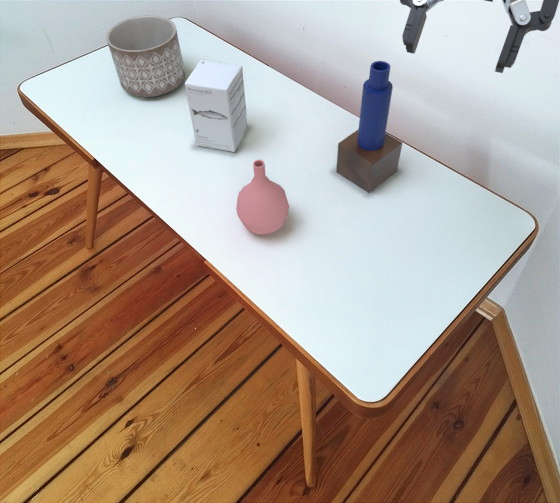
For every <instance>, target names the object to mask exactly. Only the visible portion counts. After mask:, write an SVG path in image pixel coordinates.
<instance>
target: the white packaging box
mask: <svg viewBox="0 0 560 503" xmlns="http://www.w3.org/2000/svg"><path fill="white" fill-rule="evenodd" d="M184 87H185V93H186V98H187V102H188V103H187V104H188V109H189V114H190V119H191V124H192V130H193V135H194V140H195V145H196V146H197V147H203V148H209V149H215V150H221V151H225V152H231V153H236V151H237V149H238V147H239V145H240V143H241V141H242V140H243V137H244V135H245V134H246V131H247V129H248V115H247V114H248V113H247V104H246V95H245V94H246V93H245V80H244V67H243V65H242V64H235V63H230V62H229V63H228V62H222V61H215V60H214V61H213V60H208V59H207V60H206V59H200V60H199V61H198V62H197V64H196V66H195V67H194V69H193V70H192V72H191V73H190V74H189V76H188V78H187V79H186V80H185V82H184Z"/></svg>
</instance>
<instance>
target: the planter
mask: <svg viewBox="0 0 560 503" xmlns="http://www.w3.org/2000/svg"><path fill="white" fill-rule="evenodd" d="M105 37H106V38H105V40H106V43H107V46H108V49H109V52H110V55H111V58H112V61H113V65H114V68H115V71H116V75H117V77H118V81H119V84H120V87H121V88H122V89H123V90H124V91H125V92H127V93H128V94H130V95H133V96H136V97H141V98H150V97H158V96H163V95H165V94H168V93H170V92H172V91H174V90H176V89H177V88H179V86H181V84H182V83H183V82H184V80H185V76H186V71H185V70H186V69H185V64H184V60H183V55H182V49H181V45H180V42H179V40H180V39H179V35H178V30H177V26H176V24H175V23H174V22H173V21H172V20H171V19H169V18H167V17H165V16H161V15H154V14H152V15H151V14H150V15H148V14H147V15H137V16H132V17H129V18H126V19H123V20H121V21H119V22H117V23H115V24H114V25H113V26H112V27H110V29H109V30H108V31H107V33H106V36H105Z"/></svg>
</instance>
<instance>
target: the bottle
mask: <svg viewBox="0 0 560 503" xmlns="http://www.w3.org/2000/svg"><path fill="white" fill-rule="evenodd" d="M369 67H370V68H369V76H368V79H367V80H365V81H364V83H363V84H362V93H361V102H360V113H359V122H358V129H359V130H358V129H357V130H358V141H357V142H358V145H359V146H360V147H361V148H362V149H364V150H368V151H375V150H378V149H380V148H381V147H382V146H383V144H384V139H385V133H387V126H388V120H389V115H390V114H389V113H390V109H391V108H390V106H391V102H392V101H391V100H392V95H393V89H394V86H393V83H392V82H391V81H390V74H391V67H392V66H391V64H390V63H388V62H387V61H383V60H376V61H374V62H372V63H370V66H369Z"/></svg>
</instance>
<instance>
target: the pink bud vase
mask: <svg viewBox="0 0 560 503" xmlns="http://www.w3.org/2000/svg"><path fill="white" fill-rule="evenodd" d="M252 167H253V178H252V179H251V181H250V182H249V183H248V184H245V185H244V186H243V187H242V188H241V189H240V190H239V191H238V195H237V200H236V207H235V209H236V215H237V217H238V219H239V221H240V222H241V223H242V225H243V226H244V228H245V230H247V231H249V232H251V233H253V234H257V235H269V234H273V233H275V232H277V231H278V230H280V229H281V228H282V227H283V225H284V224H285V223H286V220H287V217H288V215H289V210H290V204H289V200H288V198H287V193H286V190H285V189H284V188H283V187H282V186H281V185H280V184H279V183H277V182H275V181H272V180H270V179H269V177H268V176H267V175H266V165H265V161H264V160H263V159H256V160H254V161H253V163H252Z"/></svg>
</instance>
